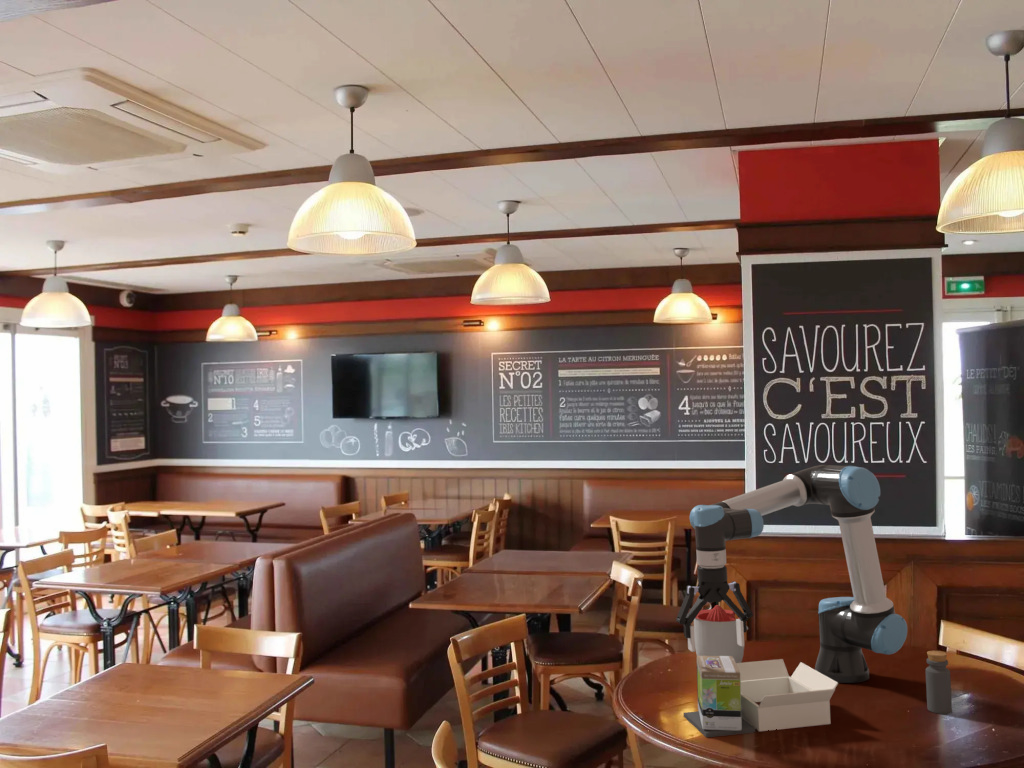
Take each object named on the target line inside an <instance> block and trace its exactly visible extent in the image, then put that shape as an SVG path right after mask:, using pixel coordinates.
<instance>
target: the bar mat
mask: <svg viewBox="0 0 1024 768" xmlns="http://www.w3.org/2000/svg"><path fill="white" fill-rule="evenodd" d="M683 717H684V718H685V719H686V720H687V721H688V722H689V723H690V724H691V725H692V726H693V727H694V728H695V729H697V730H698V731H699V733H701V734H702V735H703V736H704V737H705V738H714V737H722V736H723V737H724V736H732V735H733V736H734V735H741V734H743V735H744V734H752V733H756V729H755V728H754V727H753V726H752V725H750V724H749V723H748V722H746V721H745V720H744V719H743V718H741V721H742V729H741V730H738V731H733V730H705V729H703V728H702V724H701V719H700V715H699V711H698V710H697V711H688V712H687V711H686V712H683Z"/></svg>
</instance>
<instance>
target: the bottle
mask: <svg viewBox="0 0 1024 768" xmlns="http://www.w3.org/2000/svg"><path fill="white" fill-rule="evenodd" d="M926 654H927V658H926V664H928V666H927V667H926V668H925V685H926V686H925V687H926V689H925V690H926V704H927V705H926V706H927V707H926V708H927V710H928V711H929V712H931V713H934V714H939V715H949V714H951V713H953V704H952V703H953V702H952V701H953V699H952V685H951V684H952V683H951V682H952V681H951V670H950V669H949V668H947V666H948V665H949V661H948V659H947V656H948V654H947V652H944V651H941V650H928V651H927V652H926Z"/></svg>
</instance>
